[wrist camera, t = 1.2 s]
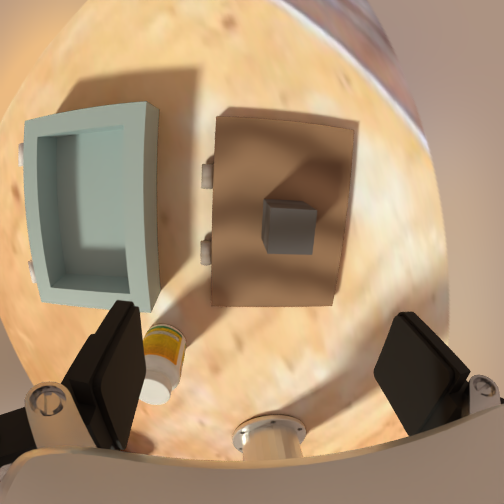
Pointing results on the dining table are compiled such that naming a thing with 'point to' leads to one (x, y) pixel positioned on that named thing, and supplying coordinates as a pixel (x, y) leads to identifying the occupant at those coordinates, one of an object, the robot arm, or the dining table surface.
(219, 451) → the dining table surface
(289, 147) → the door
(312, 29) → the dining table surface
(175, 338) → the supplement bottle
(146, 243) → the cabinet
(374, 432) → the dining table surface
